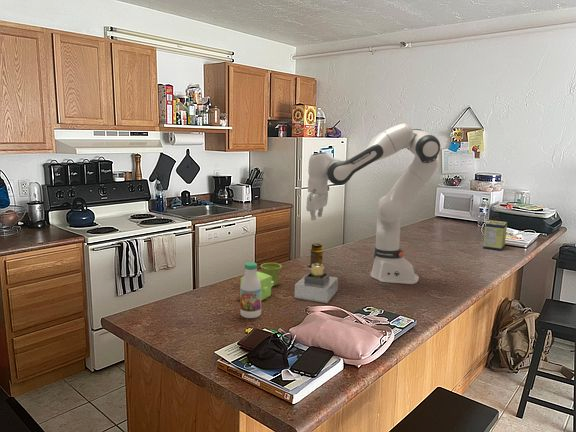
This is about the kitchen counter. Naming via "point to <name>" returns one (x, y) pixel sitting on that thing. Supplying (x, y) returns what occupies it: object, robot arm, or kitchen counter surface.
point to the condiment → (315, 255)
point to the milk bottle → (250, 292)
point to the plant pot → (272, 271)
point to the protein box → (495, 235)
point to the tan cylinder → (317, 270)
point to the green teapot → (263, 284)
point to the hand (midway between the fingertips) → (316, 218)
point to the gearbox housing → (316, 288)
